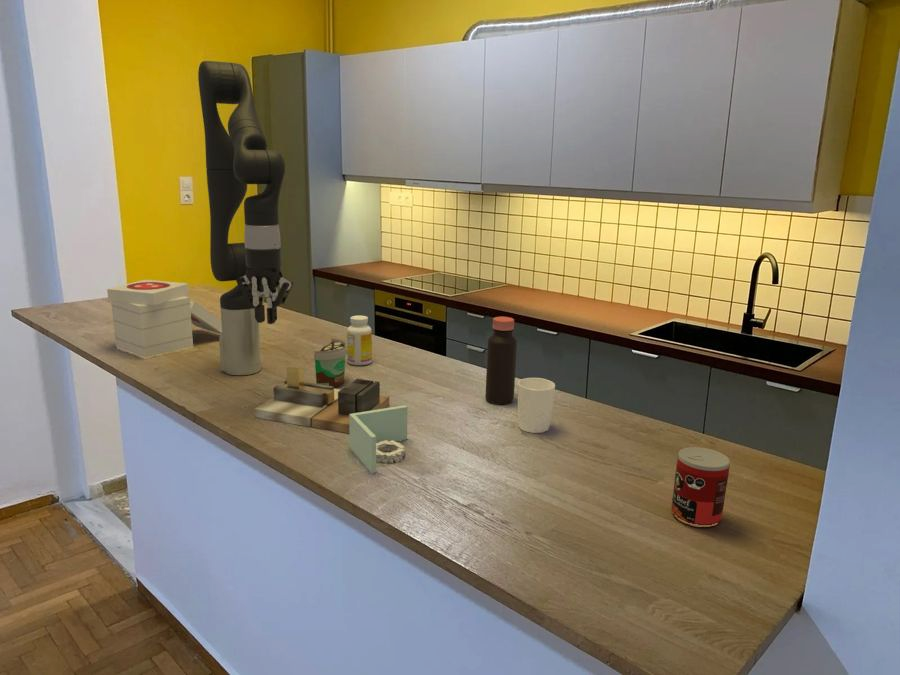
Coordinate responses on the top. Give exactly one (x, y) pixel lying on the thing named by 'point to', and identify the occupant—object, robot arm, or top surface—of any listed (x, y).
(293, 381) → the wooden t-shaped block
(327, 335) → the top surface
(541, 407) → the white cup
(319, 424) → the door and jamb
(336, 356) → the food container
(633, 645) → the top surface
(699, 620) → the top surface
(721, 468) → the canned food
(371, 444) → the l-shaped corner panel
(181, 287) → the pizza boxes
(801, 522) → the top surface
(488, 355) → the vinegar
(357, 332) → the supplement bottle
